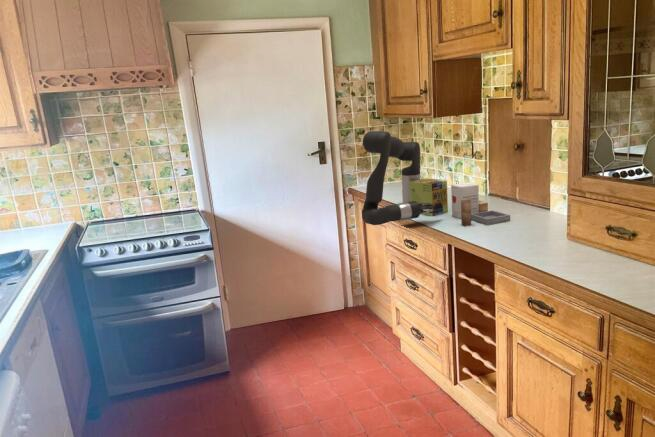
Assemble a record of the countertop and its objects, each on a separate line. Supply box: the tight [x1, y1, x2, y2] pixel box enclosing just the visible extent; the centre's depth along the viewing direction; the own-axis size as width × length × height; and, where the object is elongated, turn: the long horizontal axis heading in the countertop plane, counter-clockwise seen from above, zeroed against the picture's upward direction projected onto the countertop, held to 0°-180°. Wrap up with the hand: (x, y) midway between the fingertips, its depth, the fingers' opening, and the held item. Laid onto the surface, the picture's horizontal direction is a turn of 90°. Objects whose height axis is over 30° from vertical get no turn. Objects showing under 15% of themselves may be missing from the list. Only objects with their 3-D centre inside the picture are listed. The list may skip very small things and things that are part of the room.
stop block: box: [479, 200, 489, 213], centre depth 238 cm, size 10×4×6 cm, turn 19°
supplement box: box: [450, 181, 480, 220], centre depth 235 cm, size 9×9×15 cm
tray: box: [471, 209, 511, 226], centre depth 226 cm, size 12×12×3 cm
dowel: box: [460, 199, 472, 227], centre depth 221 cm, size 4×4×11 cm
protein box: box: [409, 177, 449, 217], centre depth 249 cm, size 10×15×16 cm
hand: (441, 205), depth 232 cm, fingers closed
